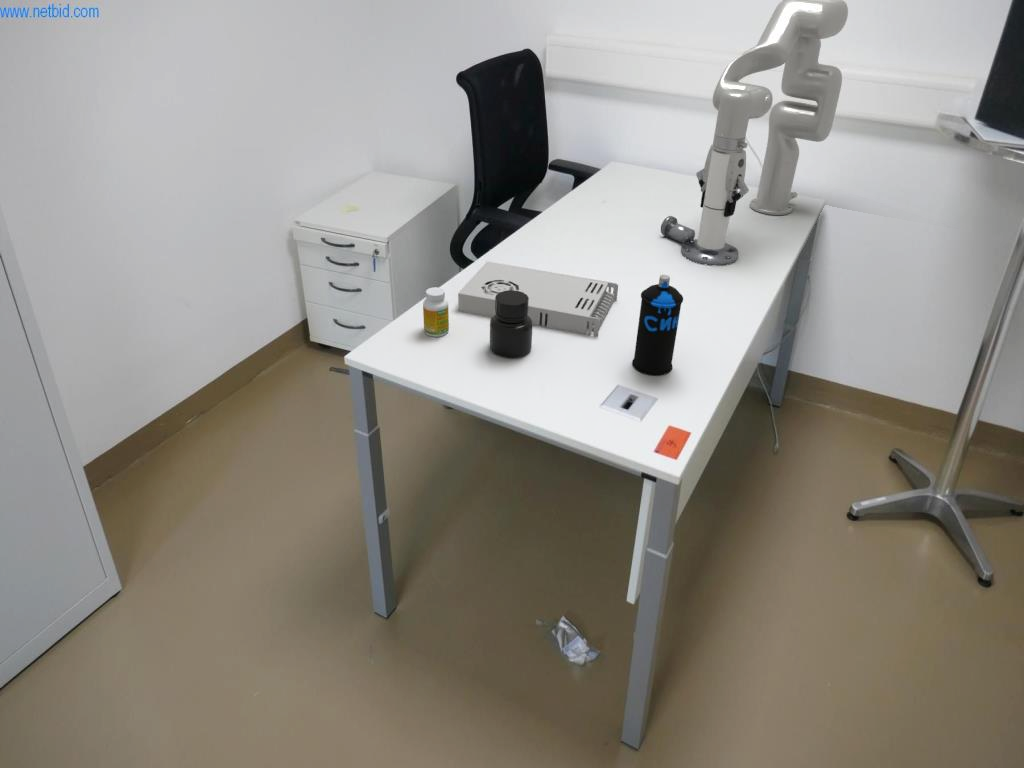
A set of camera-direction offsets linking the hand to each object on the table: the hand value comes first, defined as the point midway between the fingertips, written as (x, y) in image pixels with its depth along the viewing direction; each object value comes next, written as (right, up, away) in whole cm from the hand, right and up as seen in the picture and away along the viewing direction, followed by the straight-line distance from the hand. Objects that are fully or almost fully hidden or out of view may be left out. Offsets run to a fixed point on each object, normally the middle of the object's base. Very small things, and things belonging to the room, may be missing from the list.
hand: (716, 210), depth 204 cm
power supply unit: (-47, -27, -20) cm, 58 cm away
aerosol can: (-24, -41, -42) cm, 64 cm away
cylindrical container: (0, -8, +5) cm, 9 cm away
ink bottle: (-54, -38, -38) cm, 76 cm away
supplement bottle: (-70, -34, -33) cm, 84 cm away
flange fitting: (-3, -8, +9) cm, 13 cm away
